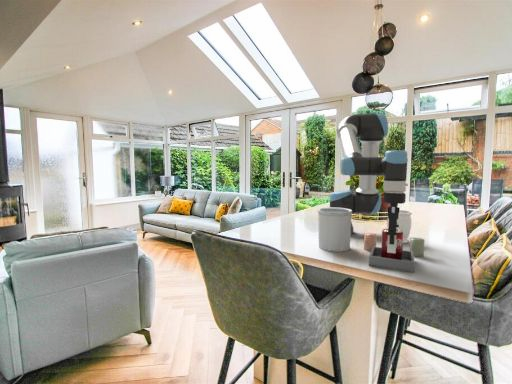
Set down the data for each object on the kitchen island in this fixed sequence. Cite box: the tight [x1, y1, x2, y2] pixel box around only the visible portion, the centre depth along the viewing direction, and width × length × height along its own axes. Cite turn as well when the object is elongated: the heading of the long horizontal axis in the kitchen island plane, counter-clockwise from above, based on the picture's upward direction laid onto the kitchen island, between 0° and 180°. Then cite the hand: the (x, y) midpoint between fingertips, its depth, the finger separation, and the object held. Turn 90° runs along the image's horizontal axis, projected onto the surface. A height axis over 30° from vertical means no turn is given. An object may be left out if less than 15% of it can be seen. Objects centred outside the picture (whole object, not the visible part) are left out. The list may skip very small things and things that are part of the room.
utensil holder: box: [317, 206, 352, 253], centre depth 126 cm, size 15×15×18 cm
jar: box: [386, 209, 413, 244], centre depth 137 cm, size 11×10×15 cm
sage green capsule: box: [409, 237, 426, 259], centre depth 114 cm, size 5×5×7 cm
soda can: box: [380, 228, 404, 260], centre depth 105 cm, size 7×7×12 cm
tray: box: [368, 246, 415, 274], centre depth 105 cm, size 15×15×4 cm
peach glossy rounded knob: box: [363, 232, 378, 252], centre depth 123 cm, size 5×5×7 cm
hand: (391, 247), depth 105 cm, fingers open, 13 cm apart
